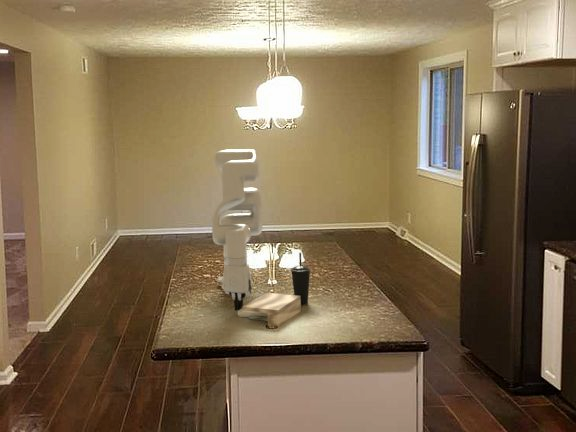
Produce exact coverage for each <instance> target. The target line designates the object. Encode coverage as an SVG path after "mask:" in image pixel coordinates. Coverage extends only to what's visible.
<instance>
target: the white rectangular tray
mask: <svg viewBox="0 0 576 432" xmlns="http://www.w3.org/2000/svg"><path fill="white" fill-rule="evenodd" d="M249 315H256V316H266V317H268V313H262V312H252V311H242V309H240V310H239V311H237V317H239V318H241V317H242V318H249Z"/></svg>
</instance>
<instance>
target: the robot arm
mask: <svg viewBox="0 0 576 432" xmlns="http://www.w3.org/2000/svg"><path fill="white" fill-rule="evenodd" d="M213 157H214V158H213V159H214V164H215V166H216V169H217V171H218V173H219V175H220V177H221V178H220V179H221V189H222V191H221V192H222V193H221V194H222V199H221V201H220V202H219V203H218V204H217V206H216V207H215V209H214V211H213V213H212V217H211V234H212V240H213V243H214V244H216V245H217V246H218V245H219V246H220V245H222V246H223V262H224V266H223V267H224V268H223V273H222V274H223V275H222V276H217V282H218V283H222V284H221V289H222V290H223V291H224V293H225V294H227V295H229V296H230V297H231V299H232V300H233V307H234V311H236V312H238V311H239V310H240V309H242V306H244V299H245V297H249V296H251V295H252V289H253V288H252V285H253V284H252V273H251V269H250V265H249V264H248V258H247V257H248V251H247V248H248V247H247V243H248V242H249V241H250V240H251V237H253V236H259V235H261V234H262V232H263V211H262V210H263V207H262V204H263V203H262V195H261V192H260V190H259V189H258V188H256V187H245V182H246V183H247V182H256V181H257V180H258V179H259V177H260V164H259V156H258V153H257V151H256V150H255V149H249V148H247V149H245V148H244V149H223V150H218V151H216V152H215V153H214V156H213ZM226 211H228V212H245V213H230V214H229V213H228V214H225V215H223V214H224V213H225V212H226ZM247 211H248V212H250V213H247ZM222 215H223V216H222ZM221 216H222V217H221ZM220 218H221V219H220Z"/></svg>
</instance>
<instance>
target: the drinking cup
mask: <svg viewBox="0 0 576 432" xmlns="http://www.w3.org/2000/svg"><path fill="white" fill-rule="evenodd" d="M298 254H299V255H298V257H299V265H296V266H293V267H291V268H290V272H291V278H292V279H291V280H292V287H293V295H297V296H300V298H301V306H304V305H305V306H306V305H308V304H309V303H308V302H309V291H310V277H311V276H310V274H311V270H312V269H311V268H310V267H309V266H306V265H302V252H299V253H298Z"/></svg>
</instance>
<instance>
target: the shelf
mask: <svg viewBox="0 0 576 432" xmlns="http://www.w3.org/2000/svg"><path fill="white" fill-rule="evenodd" d="M301 307H302V305H301V298H300V296H297V295H294V294H286V293H285V294H283V293H274V292H273V293H271V292H265V293H263V294H262V295H260V296H258V297H257V298H255V299H253V300H251V301H250V302H248V303H246V304H243V306H242V311H252V312H262V313H268V317H266V316H256V315H249V317H248V319H250V320H257V321H267V326H269V327H276V328H277V327H278V328H279V327H280V326H282V325H283V324H285V323H286V322H287V321H289V320H291V319H292V318H293V317H295V316H296V315H297V314H300V312H302V311H301V310H302V308H301Z"/></svg>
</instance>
